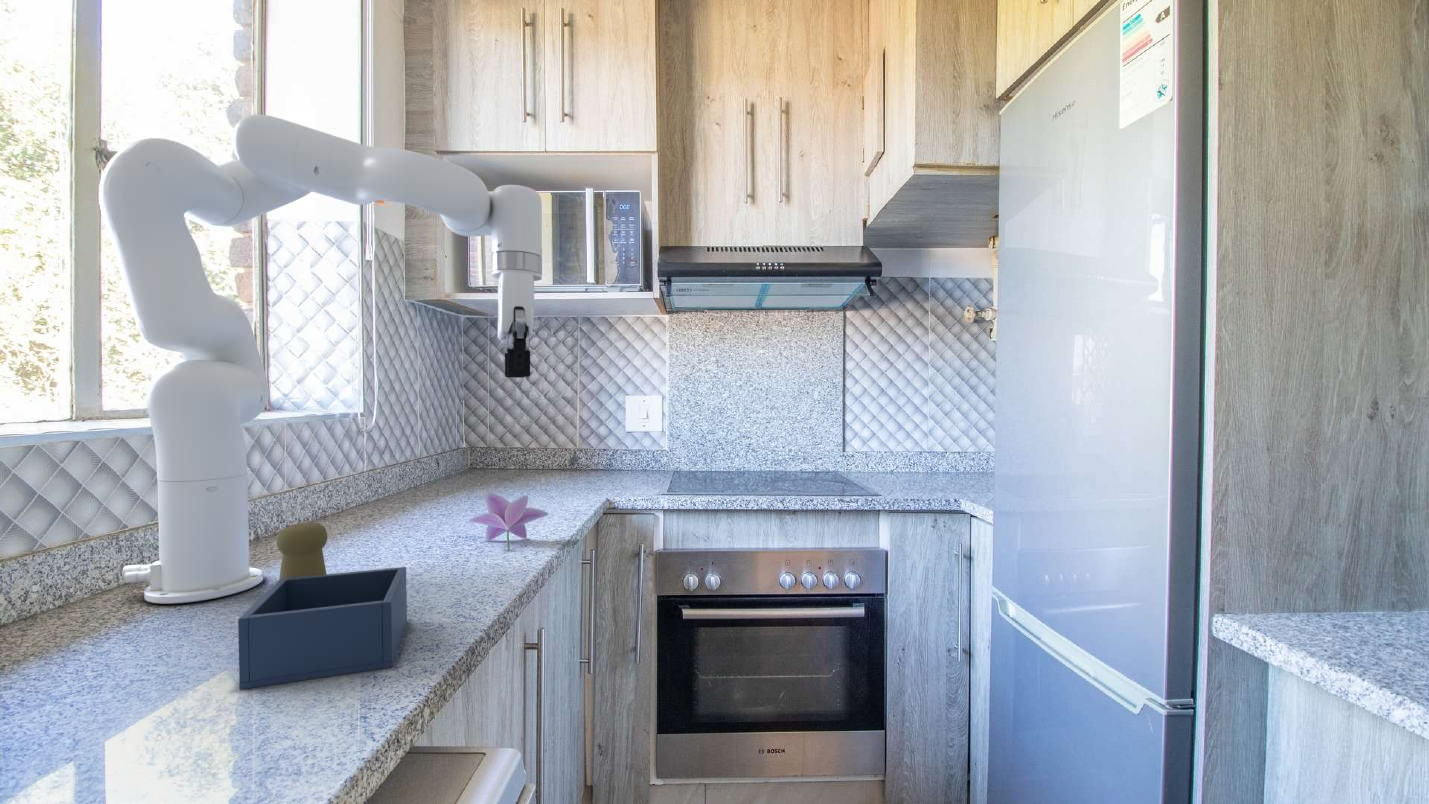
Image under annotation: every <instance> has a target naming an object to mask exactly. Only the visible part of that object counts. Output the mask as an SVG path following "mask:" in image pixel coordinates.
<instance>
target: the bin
mask: <svg viewBox="0 0 1429 804" xmlns="http://www.w3.org/2000/svg"><path fill="white" fill-rule="evenodd" d="M407 592H408V591H407V566H402V567H390V568H379V569H368V570H358V571H348V572H347V571H346V572H337V573H326V574H325V575H315V576H304V577H293V578H284V579H280V580H279V579H278V581H277V582H276V583H275V584H273V585H272V587H270V589H268V590H267V591H266V592H265V593H264V594H263V595H262V596H261V597H260V598H259V599H258V600H256V602H255V603H253V605H251V606H250V607H249V608H248V609H247V610H246V611H245V612H244V613H243V614H242V615H241V616H240V617H239V618H238V619H237V635H238V636H237V637H238V678H239V679H238V682H239V685H238V687H239V688H238V689H239V690H245V689H246V690H247V689H252V688H259V687H266V686H272V685H279V684H280V685H281V684H287V683H292V682H300V681H301V682H302V681H307V680H313V679H320V678H327V677H334V676H341V675H347V674H354V673H360V672H362V673H363V672H368V671H375V670H381V669H387V668H393V665H394V662H395V659H396V656H397V653H398V650H399V647H400V644H401V641H402V637H403V635H404V632H405V629H406V626H407V623H408V608H407V607H408V603H407V602H408V601H407V600H408V599H407V597H408V596H407V595H408V593H407Z"/></svg>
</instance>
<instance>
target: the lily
mask: <svg viewBox="0 0 1429 804" xmlns="http://www.w3.org/2000/svg"><path fill="white" fill-rule="evenodd" d="M484 497H485V503H486V509H487V511H488V512H487V513H482V514H479V515H477V516H474V517H472V518H470V519H469V522H471V523H475V524H478V525H479V524H480V525H484V526H486V530H485V540H486V541H487V542H490V541H492V540H494V539H495V538H498V537H499V536H501V535H503V534H506V543H507V551H511V548H510V534H513V535H514V536H517V537H519V538H521V539H523V540H526V539H527V538H528V532H527V528H526V525H525V524H528V523H530V522H532V521H537V520H538V519H542V518H544V517H547V516H549V513H548V512H547V511H545V510H542V509H539V508H535V507H527V506H528V501H529V495H527V494H525V495H523V496H520V497H518V498H516V499H514V500H512V501H511V502H510V501H509V500H508V499H506V498H505V497H503V496H501V495H499V494H497V493H495V492H490V491H486V492H485V493H484Z"/></svg>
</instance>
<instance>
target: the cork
mask: <svg viewBox="0 0 1429 804" xmlns="http://www.w3.org/2000/svg"><path fill="white" fill-rule="evenodd" d="M327 542H328V531H327V528H326V527H325V525H323V524H321V523H317V522H301V523H295V524H290V525H288V526H285V527H283V528H282V529H280V530H279V532H278V534H277V536H276V546H277V549H278V551H279V552H280V553H281V554H282V556H281V557H282V558H281V563H280V571H279V579H278V581H279V580H280V579H284V578H293V577H304V576H315V575H325V574H327V569H326V562H325V558H324V552H323V549H324V547H325V546H326V544H327Z"/></svg>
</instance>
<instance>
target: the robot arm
mask: <svg viewBox="0 0 1429 804" xmlns="http://www.w3.org/2000/svg"><path fill="white" fill-rule="evenodd" d="M231 144H232V148H233V151H234V153H235V155H236V157H237V158H236V159H233V160H230V161H227V162H224V163H223V164H219V165H217V164H216V163H215V162H213V161H212V160H210V159H209V158H208V157H206V156H205V155H203V154H202V153H201V152H199V151H197V150H195V149H194V148H192V147H190V146H188V145H186V144H183V143H181V142H178V141H175V140H170V139H167V138H157V137H150V138H144V139H143V138H142V139H140V140H137V141H134V142H132V143H129V144H127V145H126V146H124V147H122V148H121V149H120V150H119V151H117V152H116V153H115V154H114V155H113V156H112V157H111V158H110V160H109V161H108V162H107V164H106V166H105V167H104V169H103V171H102V173H101V176H100V180H99V185H98V200H99V207H100V211H101V214H102V218H103V221H104V224H105V228H106V231H107V234H108V237H109V239H110V242H111V245H112V248H113V250H114V254H115V258H116V261H117V265H118V270H119V272H120V275H121V276H120V277H121V279H122V283H123V285H124V289H125V292H126V295H127V296H126V297H127V299H128V302H129V305H130V308H131V313H132V315H133V318H134V321H135V324H136V328H137V329H138V331H139V333H140V335H141V337H143V339H145V340H146V341H147V342H148V343H149V344H151V345H153V346H154V347H157V348H158V349H159V348H160V349H163V350H167V351H169V352H170V351H171V352H178V353H180V355H181V358H182V361H179V362H175V363H172V364H170V365H169V366H167V367H164V368H163V369H162V370H160V372H158V373H157V374H156V375H155V377H154V378H153V379H152V381H151V382H150V384H149V387H148V390H147V393H146V394H147V395H146V407H147V413H148V417H149V423H150V427H151V430H152V435H153V440H154V447H155V449H154V450H155V461H156V464H155V465H156V485H157V515H158V516H157V522H158V524H157V525H158V560H156V561H154V562H153V563H151V564H131V565H125V566H124V567H123V568H122V570H121V578H122V580H123V582H124V583H125V584H127V583H128V584H130V583H139V582H144V581H145V582H147V583H149V586H147V587H146V588H145V589H144V591H143V598H144V601H146V602H148V603H152V604H158V605H159V604H160V605H175V604H185V603H186V604H187V603H194V602H203V601H207V600H208V601H209V600H212V599H218V598H223V597H226V596H230V595H234V594H238V593H242V592H244V591H247V590H250V589H251V588H254V587H255V586H258V585H259V584H260V583H262V582H263V580H264V571H263V570H262V569H260V568H256V567H250V531H249V530H250V527H249V525H250V523H249V478H248V477H249V476H248V475H249V474H248V455H247V446H246V441H245V437H244V432H243V428H242V424H243V425H244V424H245V423H248V422H250V421H253V420H254V419H256V418H257V417H259V416H260V415H261V413H262V412H263V411H264V410H265V408H266V406H267V405H268V401H269V397H270V389H269V383H268V378H267V375H266V371H265V368H264V365H263V361H262V358H261V355H260V351H259V348H258V344H257V341H256V338H255V334H254V331H253V328H252V325H251V322H250V320H249V318H248V316H247V314H246V313H245V311H244V310H243V309H242V307H241V306H240V305H239V304H238V303H237V302H236V301H235V300H233V299H232V298H230V297H229V296H227V295H225V294H223V293H221V292H218V291H216V290H215V291H214V290H213V288H212V286H211V284H210V281H209V279H208V277H207V273H206V270H205V267H204V265H203V260H202V256H201V253H200V249H199V247H198V244H197V243H196V240H195V239H194V236H193V235H192V233H191V231H190V229H189V227H188V224H187V221H186V218H187V219H189V220H191V221H193V222H195V223H198V224H199V225H203V226H206V227H211V228H225V227H233V226H236V225H239V224H241V223H244V222H247V221H249V220H251V219H254V218H257V217H259V216H262V215H264V214H267V213H269V212H272V211H275V210H276V209H277V210H278V209H279V208H281V207H283V206H285V205H289V204H291V203H293V202H296V201H297V200H300V199H302V198H303V197H306V196H307V195H309V194H311V193H316V194H319V195H323V196H326V197H330V198H332V199H336V200H339V201H342V202H346V203H349V204H353V205H358V206H365V205H369V204H371V203H374V202H380V201H385V202H395V203H399V204H405V205H409V206H412V207H415V208H419V209H422V210H426V211H429V212H432V213H435V214H439V216H440V217H441V219H442V222H443V223H444V225H445V226H446V227H447V228H448V230H450V231H451V232H452V233H455V234H456V235H459V236H462V237H469V238H470V237H485V236H486V237H488V236H491V277H492V278H494V279H497V280H498V286H497V339H498V340H499V341H503V340H504V338H505V339H506V342H505V345H506V346H505V353H504V377H505V378H515V379H516V378H517V379H518V378H519V379H524V378H529V377H530V376H531V350H530V339H531V338H532V337H533V334H534V333H533V332H534V319H535V318H534V317H535V282H537V281H538V282H539V281H542V279H543V277H542V276H543V258H542V257H543V253H542V252H543V238H542V237H543V234H542V233H543V232H542V231H543V225H542V224H543V203H542V198H541V195H540V193H539V192H538V191H537V190H535V189H533V188H531V187H528V186H524V185H519V184H503V185H499V186H497V187H496V188H494V190H493V191H492V192H489V190H488V187H487V185H486V184H485V183H484V181H483V180H482V179H481V178H480V177H479V176H478V175H477V174H476V173H474V172H473V171H471V170H469V169H467V168H466V167H463V166H460V165H458V164H455V163H452V162H450V161H447V160H443V159H440V158H437V157H435V156H431V155H428V154H424V153H422V152H417V151H413V150H408V149H403V148H393V147H383V146H369V145H365V144H362V143H358V142H355V141H352V140H349V139H345V138H343V137H340V136H337V135H333V134H330V133H327V132H324V131H321V130H317V129H315V128H311V127H309V126H305V125H302V124H299V123H296V122H293V121H290V120H286V119H282V118H280V117H277V116H273V115H269V114H251V115H246V116H244V117H243V118H241V119H240V120H239V121H237V123H236V124H235V125H234V127H233V130H232V133H231Z"/></svg>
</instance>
